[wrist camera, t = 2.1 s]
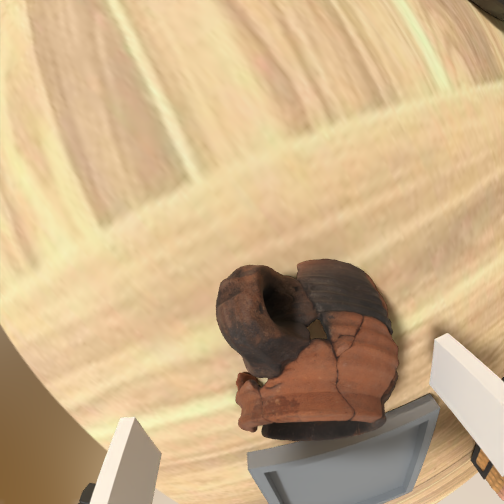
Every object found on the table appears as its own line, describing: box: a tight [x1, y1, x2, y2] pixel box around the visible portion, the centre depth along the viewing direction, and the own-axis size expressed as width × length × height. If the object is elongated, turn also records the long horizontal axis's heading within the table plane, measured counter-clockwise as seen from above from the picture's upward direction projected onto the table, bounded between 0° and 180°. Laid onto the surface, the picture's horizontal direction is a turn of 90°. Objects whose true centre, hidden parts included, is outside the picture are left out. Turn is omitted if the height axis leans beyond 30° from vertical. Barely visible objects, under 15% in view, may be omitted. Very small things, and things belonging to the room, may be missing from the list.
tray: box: [247, 394, 440, 504], centre depth 21 cm, size 16×18×2 cm
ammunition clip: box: [471, 444, 504, 501], centre depth 19 cm, size 11×2×12 cm, turn 24°
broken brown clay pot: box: [216, 259, 399, 441], centre depth 14 cm, size 12×10×8 cm
